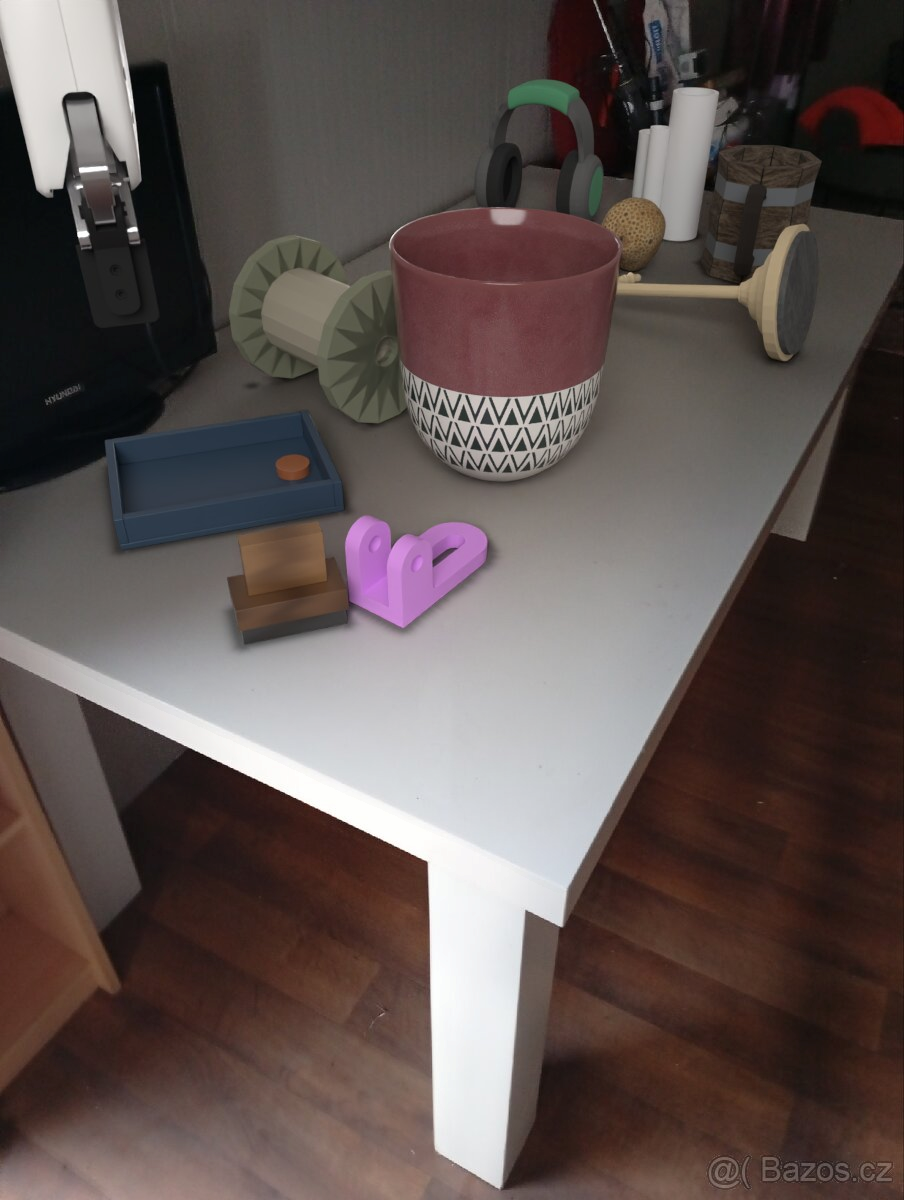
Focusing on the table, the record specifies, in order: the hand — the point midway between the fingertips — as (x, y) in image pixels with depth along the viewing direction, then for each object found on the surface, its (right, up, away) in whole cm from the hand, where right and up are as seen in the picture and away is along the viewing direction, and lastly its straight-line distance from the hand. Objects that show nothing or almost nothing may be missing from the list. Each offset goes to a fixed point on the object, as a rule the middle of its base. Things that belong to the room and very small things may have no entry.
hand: (121, 289), depth 52 cm
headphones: (+32, +45, +102) cm, 116 cm away
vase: (+51, +41, +98) cm, 117 cm away
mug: (+60, +29, +83) cm, 106 cm away
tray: (-3, -6, +37) cm, 38 cm away
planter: (+23, -4, +41) cm, 47 cm away
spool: (+6, +6, +53) cm, 54 cm away
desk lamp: (+37, +14, +64) cm, 75 cm away
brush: (+6, -18, +22) cm, 29 cm away
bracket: (+16, -15, +27) cm, 35 cm away
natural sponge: (+43, +30, +84) cm, 99 cm away
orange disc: (+3, -5, +39) cm, 39 cm away
